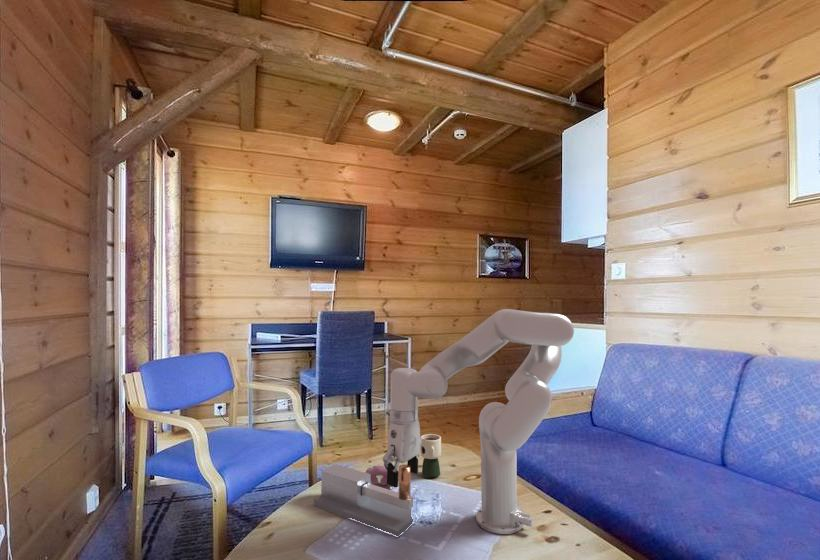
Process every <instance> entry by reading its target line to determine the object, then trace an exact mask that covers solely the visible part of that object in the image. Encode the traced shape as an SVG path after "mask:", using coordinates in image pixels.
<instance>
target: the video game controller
mask: <svg viewBox="0 0 820 560" xmlns="http://www.w3.org/2000/svg"><path fill="white" fill-rule="evenodd" d="M365 473H368V474H371V484H372V485H375V484H376V485H377V484H379V481H380V484H381V485H382V486H386V485H387V470H386V467H385V466H384V465H373V466H370V467H368V468H367V469H366V470H365ZM378 476H379V477H380V476H381V478H380V480H379V478H378ZM385 484H386V485H385ZM376 485H375V486H376ZM389 487H392V486H389V485H388V488H389ZM392 488H393V487H392Z"/></svg>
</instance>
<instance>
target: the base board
mask: <svg viewBox="0 0 820 560" xmlns="http://www.w3.org/2000/svg"><path fill="white" fill-rule="evenodd" d="M313 506H314V507H316V508H319V509H321V510H325V511H326V512H329V513H332V514H335V515H337V516H339V517H343V518H345V519H347V518H352V519H355V520H357V521H360V522H362V523H365V524H367V525H370V526H373V527H375V528H378V529H381V530H383V531H386V532H389V533H392V534H394V535H396V536H399V535H400V534H401V533H402V532H404V531H405V530H406V529H407V528H408V527H409V526H410V525H411V524H412V522H413V519H412V517H411V509H409V510H406V509H403V508H400V507H397V506H394V505H391V504H388V503H385V502H382V501H379V500H376V499H373V498H371V500H370V501H368V502H367V503H365V504H364V505H362V506H361V507H359V508H358V509H356V508H353V507H351V506H348V505H345V504H342V503H340V502H337V501H334V500H331V499H328V498H326V497H323V496H319V497H316V499H313Z"/></svg>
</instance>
